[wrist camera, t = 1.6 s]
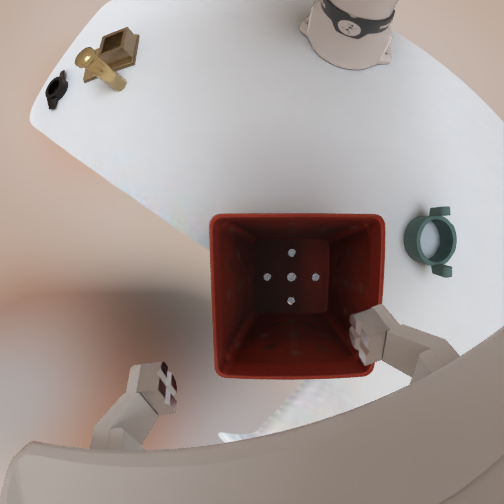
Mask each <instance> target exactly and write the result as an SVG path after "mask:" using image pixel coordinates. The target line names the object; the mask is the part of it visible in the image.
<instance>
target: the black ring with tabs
mask: <svg viewBox="0 0 504 504" xmlns="http://www.w3.org/2000/svg"><path fill="white" fill-rule="evenodd" d="M64 71H65V70H63V71H61V73H60V76H59V77H56V78H54V79H53V80H52V81H51V82H50V83H49V85H48V87H47V89H46V97H47V101H48V106H49V109H54V108H55V105H56V101H58V100H60V99H61V98H62V97H63V96H64V94H65V93H66V91H67V88H68V82H67V81H66V80H64V79H62V78H63V75H64Z"/></svg>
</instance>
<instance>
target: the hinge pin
mask: <svg viewBox="0 0 504 504" xmlns="http://www.w3.org/2000/svg"><path fill="white" fill-rule="evenodd" d="M95 54H96V52H95V50H94V49H92V48H91V47H87V48H85V49H83V50H82V51H81V52H80V53H79V54H78V55H77V57H76V59H75V65H77V66H78V67H79V68H86V69H87V70H88V71H90V72H91V73H93V74H94V75H95V76H97V77H98V78H99V79H101V80H102V81H103V82H105V83H106V84H107V85H109V86H110V87H111V88H113V89H114V90H115V91H121V90H122V89H124V87H125V86H126V80H125V79H124V78H122V77H121V76H120V75H119V74H118V73H117V72H115V71H114V70H113V69H112V68H111V67H110V66H108V65H107V64H106V63H105V62H104V61H102V60H101V59H100V58H99V57H98V56H96V55H95Z"/></svg>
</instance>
